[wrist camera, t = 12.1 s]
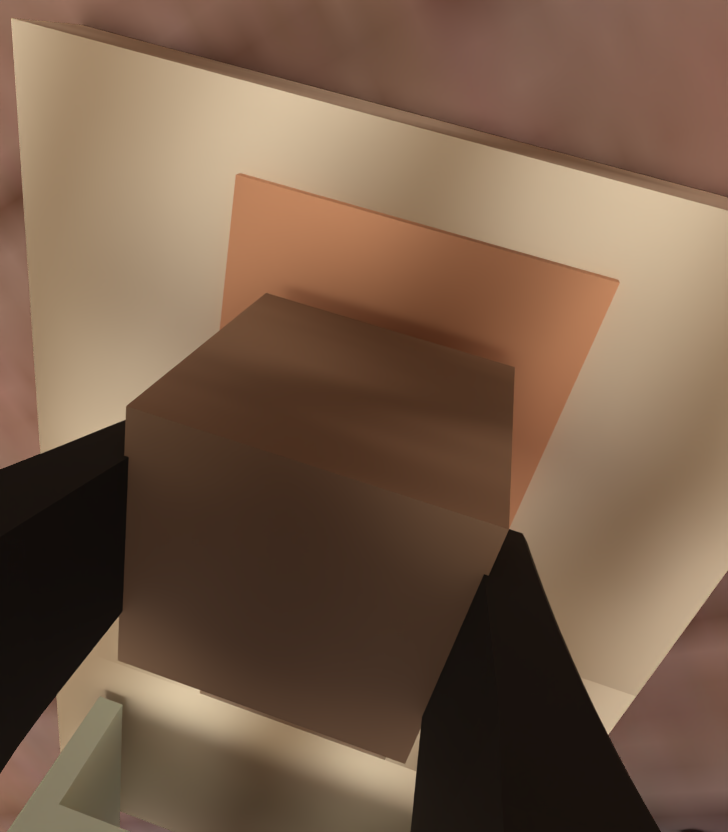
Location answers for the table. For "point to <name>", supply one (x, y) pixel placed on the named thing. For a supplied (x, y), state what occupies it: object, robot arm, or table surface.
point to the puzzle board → (391, 309)
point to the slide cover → (81, 780)
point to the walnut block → (314, 518)
